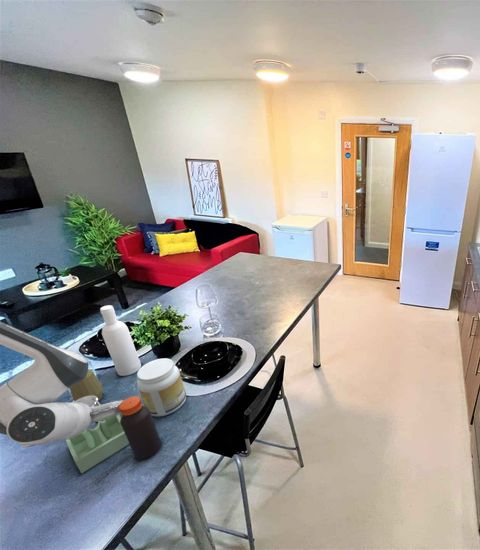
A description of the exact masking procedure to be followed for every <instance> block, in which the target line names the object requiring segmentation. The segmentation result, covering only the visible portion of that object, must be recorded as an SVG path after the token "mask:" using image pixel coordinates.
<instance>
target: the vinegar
mask: <svg viewBox="0 0 480 550" xmlns="http://www.w3.org/2000/svg"><path fill="white" fill-rule="evenodd" d="M140 397H141V396H138V395H137V396H135V395H134V396H133V395H132V396H130V397H127V398H125V399H123V400H124V401H123V400H122V401H123V402H121V404H120V405H119V410H120V412H121V414H120V415H121V416H120V417H121V420H120V423H121V426H122V428H123V430H124V432H125V435H126V437H127V439H128V441H129V444H128V445H129V446H130V448H131V450H132V453H133V455H134V457H135V459H137V460H140V461H141V460H146V459H148V458H149V459H150V458H151V457H153V456H154V455H155V454H156V453H158V451H159V450H160V449H161V446H162V441H161V437H160V435H159V433H158V430H157V427H156V424H155V422H154V419H153V416H152V415H151V413H150V411H149V409H148V407H146V406H145V405H144V404H143V401H142V398H140Z"/></svg>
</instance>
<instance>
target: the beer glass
mask: <svg viewBox="0 0 480 550" xmlns="http://www.w3.org/2000/svg"><path fill="white" fill-rule="evenodd" d="M73 403H84V404H86V405H88V406H89V407H90V408H93V407H96V406H100V405H102V402H100V400H98V398H97V397H96V396H86V397H83V398H80V399H78V400H76V401H73ZM81 434H82V435H83V436H84V437H85V439H86V445H87V447H88V448H96V447H98V446H100V445H102V444H103V443H105V442H107V441H108V440H110V438H111V437H112V431H111V430H110V429H109V428H108V427H107V424H106V419H104V420H101V421H98V422H95V423H92V424H90V425H89V426H88V428H87V429H86V430H85V431H84V432H82V433H81Z"/></svg>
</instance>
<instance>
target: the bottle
mask: <svg viewBox="0 0 480 550" xmlns="http://www.w3.org/2000/svg"><path fill="white" fill-rule="evenodd" d="M99 310H100V314H101V315H102V318H103V321H104V323H105V325H104V326H103V327H102V329H101V335H102V338H103V342H104V343H105V346H106V348H107V350H108V353H109V355H110V358H111V360H112V363H113V366H114V369H115V371H116V372H117V374H118V376H121V377H126V376H131V375H132V374H135V373H136V372H138V371H139V369H140V368H141V367H142V363H141V360H140V358H139V355H138V352H137V350H136V347H135V344H134V340H133V338H132V336H131V333H130V330H129V326H127V324H126V323H125V322H124V321H120V320H118V317H117V315H116V312H115V308H114V306H113V305H112V304H111V305H110V304H109V305H108V304H107V305H104V306H101V307H100V308H99Z"/></svg>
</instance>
